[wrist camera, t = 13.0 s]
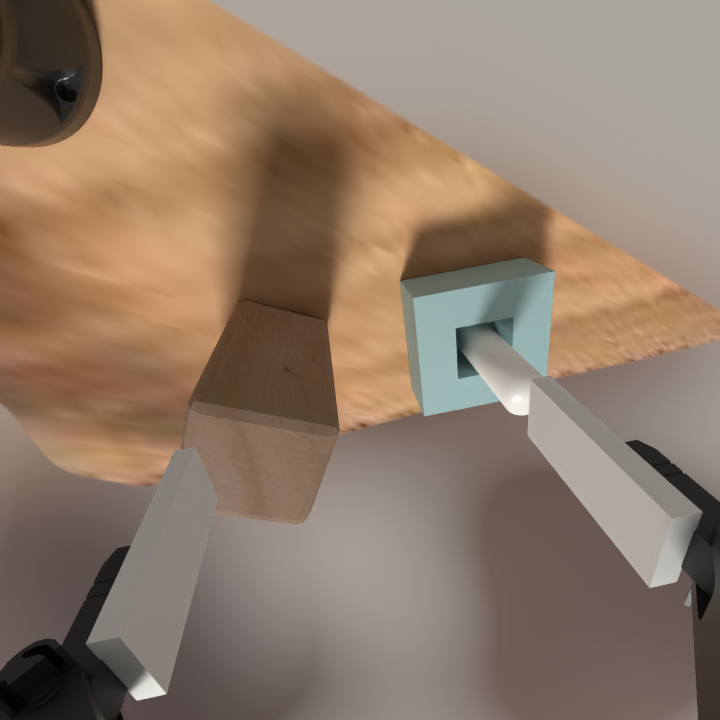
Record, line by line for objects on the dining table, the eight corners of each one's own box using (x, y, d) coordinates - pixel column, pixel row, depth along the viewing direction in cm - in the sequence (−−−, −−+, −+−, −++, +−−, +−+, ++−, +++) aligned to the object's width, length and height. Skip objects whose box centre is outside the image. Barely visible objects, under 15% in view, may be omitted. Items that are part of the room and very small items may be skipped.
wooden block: (329, 318, 43) (345, 427, 26) (307, 392, 47) (307, 531, 30) (238, 295, 41) (185, 397, 23) (223, 375, 45) (167, 514, 27)
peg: (449, 318, 44) (504, 379, 31) (484, 311, 44) (552, 370, 32) (451, 349, 46) (503, 419, 33) (484, 342, 46) (548, 410, 33)
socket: (399, 280, 42) (413, 298, 37) (524, 257, 43) (555, 271, 37) (411, 388, 49) (424, 416, 43) (519, 367, 49) (545, 391, 44)
